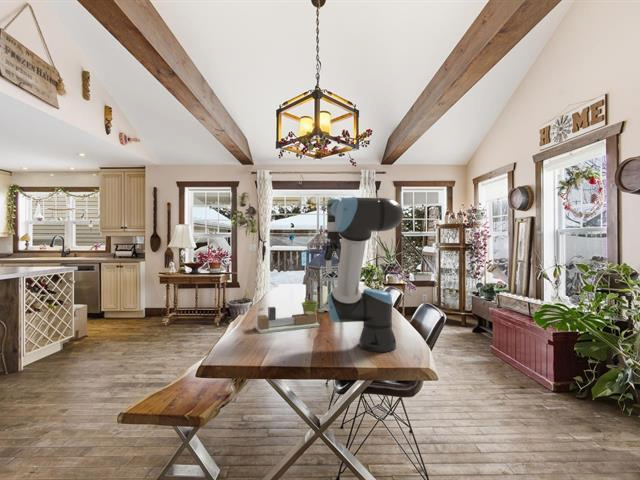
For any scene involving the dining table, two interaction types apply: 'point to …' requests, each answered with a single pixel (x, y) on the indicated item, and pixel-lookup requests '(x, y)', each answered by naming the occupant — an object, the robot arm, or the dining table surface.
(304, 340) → the dining table surface
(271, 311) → the slide bar
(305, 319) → the board
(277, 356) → the dining table surface
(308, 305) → the plant pot
